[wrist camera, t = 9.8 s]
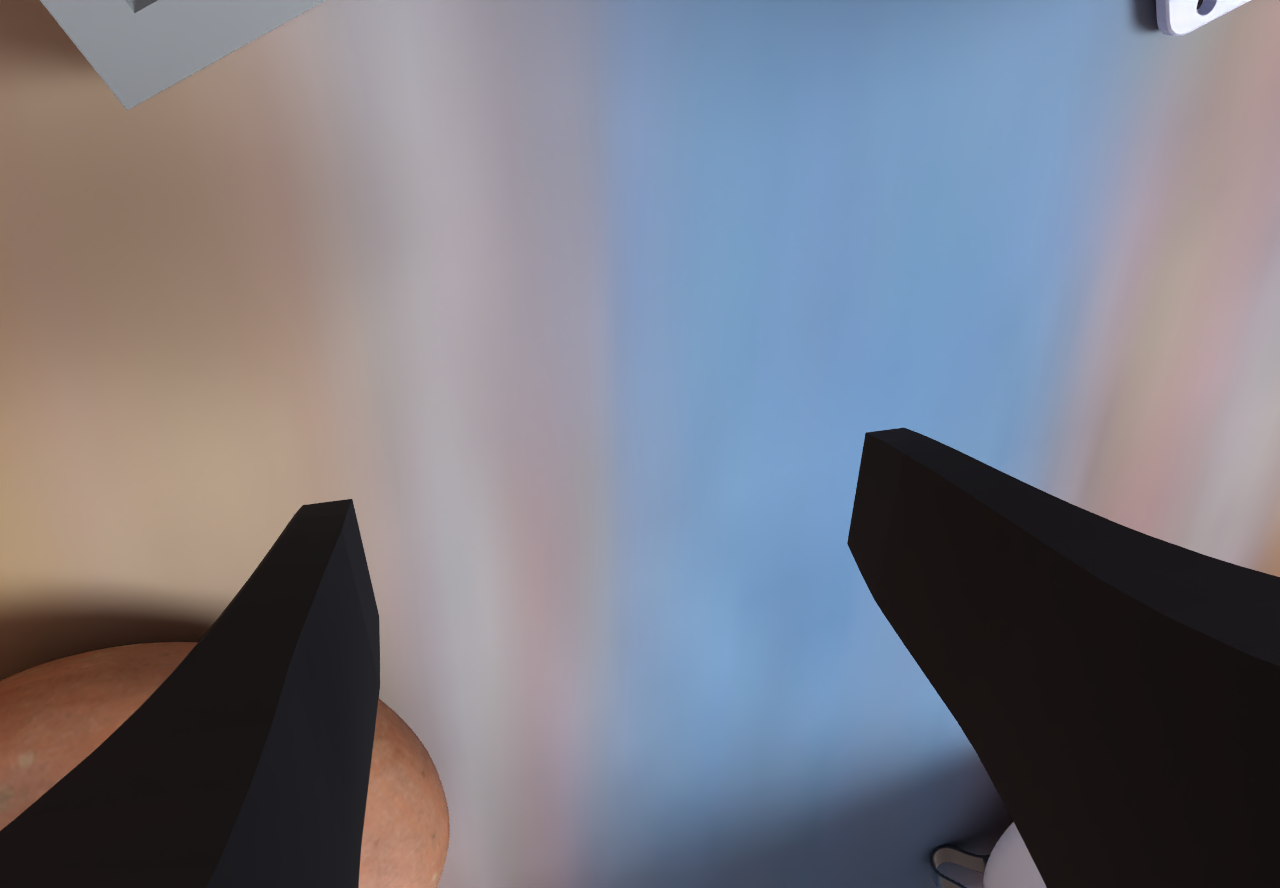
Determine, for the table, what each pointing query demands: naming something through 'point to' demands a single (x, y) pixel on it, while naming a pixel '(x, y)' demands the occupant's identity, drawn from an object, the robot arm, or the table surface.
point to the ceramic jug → (128, 675)
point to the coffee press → (992, 864)
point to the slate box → (164, 36)
